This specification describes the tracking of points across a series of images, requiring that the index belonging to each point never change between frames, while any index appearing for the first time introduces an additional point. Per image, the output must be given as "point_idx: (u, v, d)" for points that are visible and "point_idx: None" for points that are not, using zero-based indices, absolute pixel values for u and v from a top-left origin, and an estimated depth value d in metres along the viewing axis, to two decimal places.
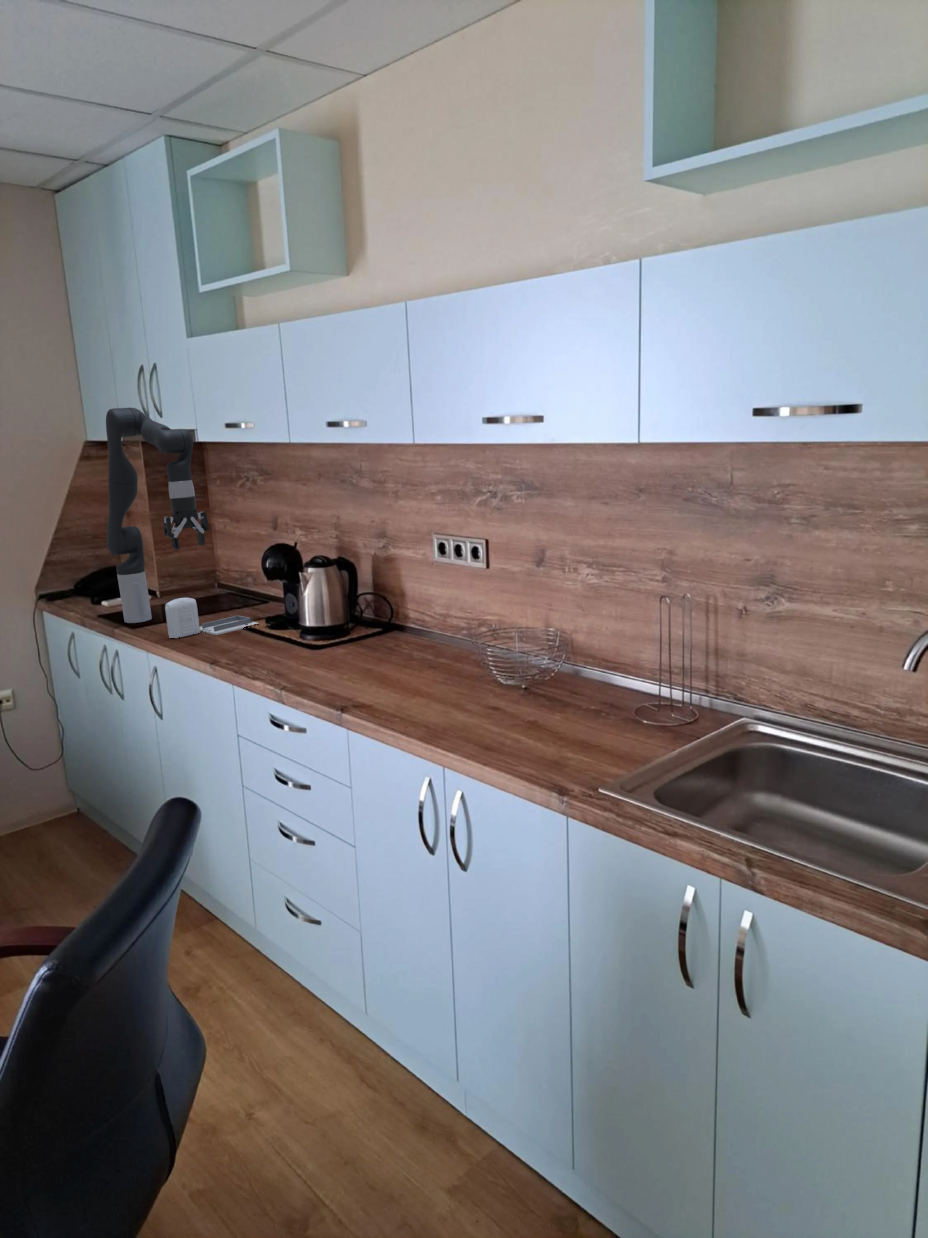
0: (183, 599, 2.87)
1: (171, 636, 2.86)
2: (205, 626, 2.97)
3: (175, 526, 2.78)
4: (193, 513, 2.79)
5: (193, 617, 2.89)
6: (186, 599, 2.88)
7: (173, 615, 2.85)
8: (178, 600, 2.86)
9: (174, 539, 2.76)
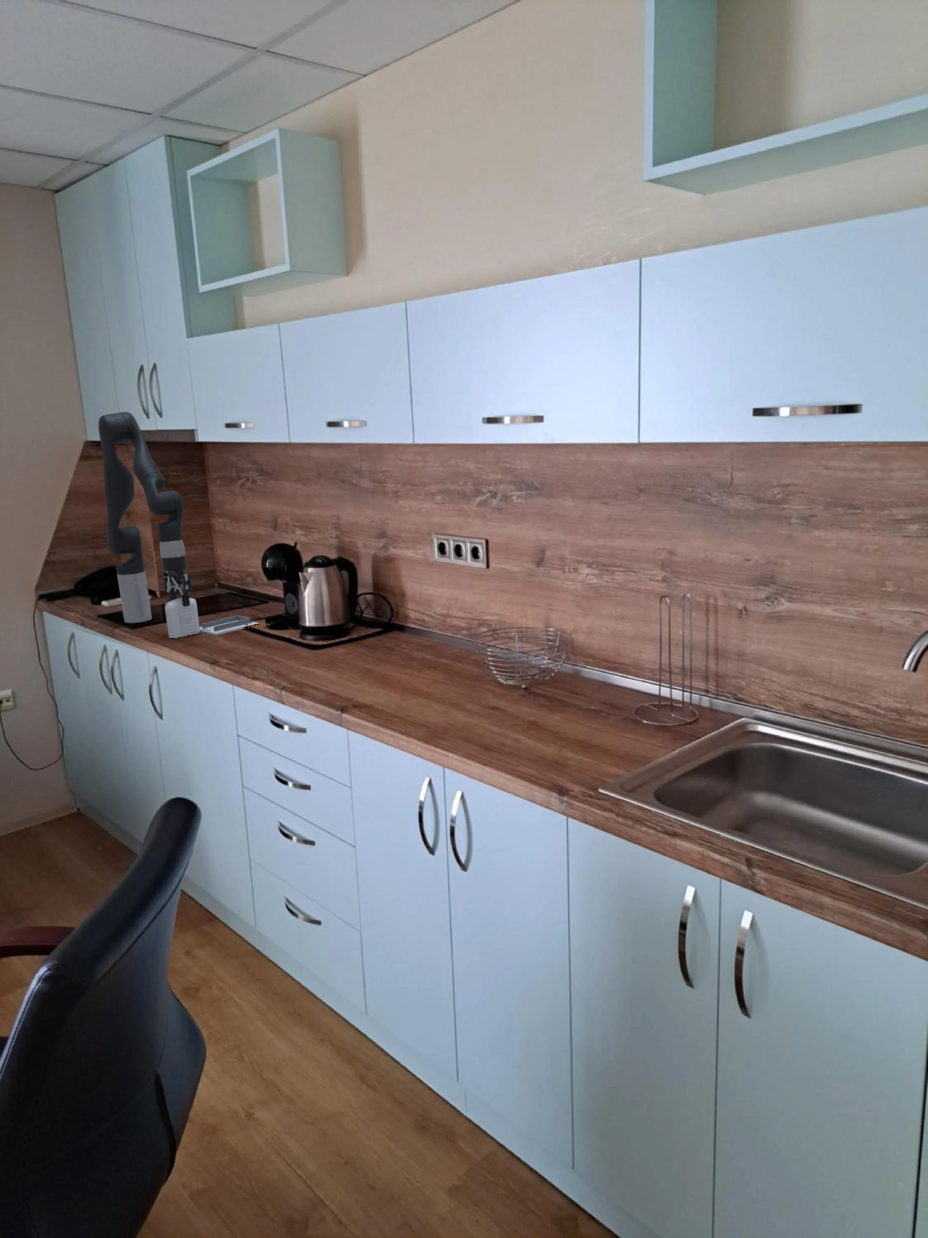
0: None
1: (171, 636, 2.86)
2: (205, 626, 2.97)
3: None
4: None
5: (193, 617, 2.89)
6: None
7: (173, 615, 2.85)
8: (178, 600, 2.86)
9: None
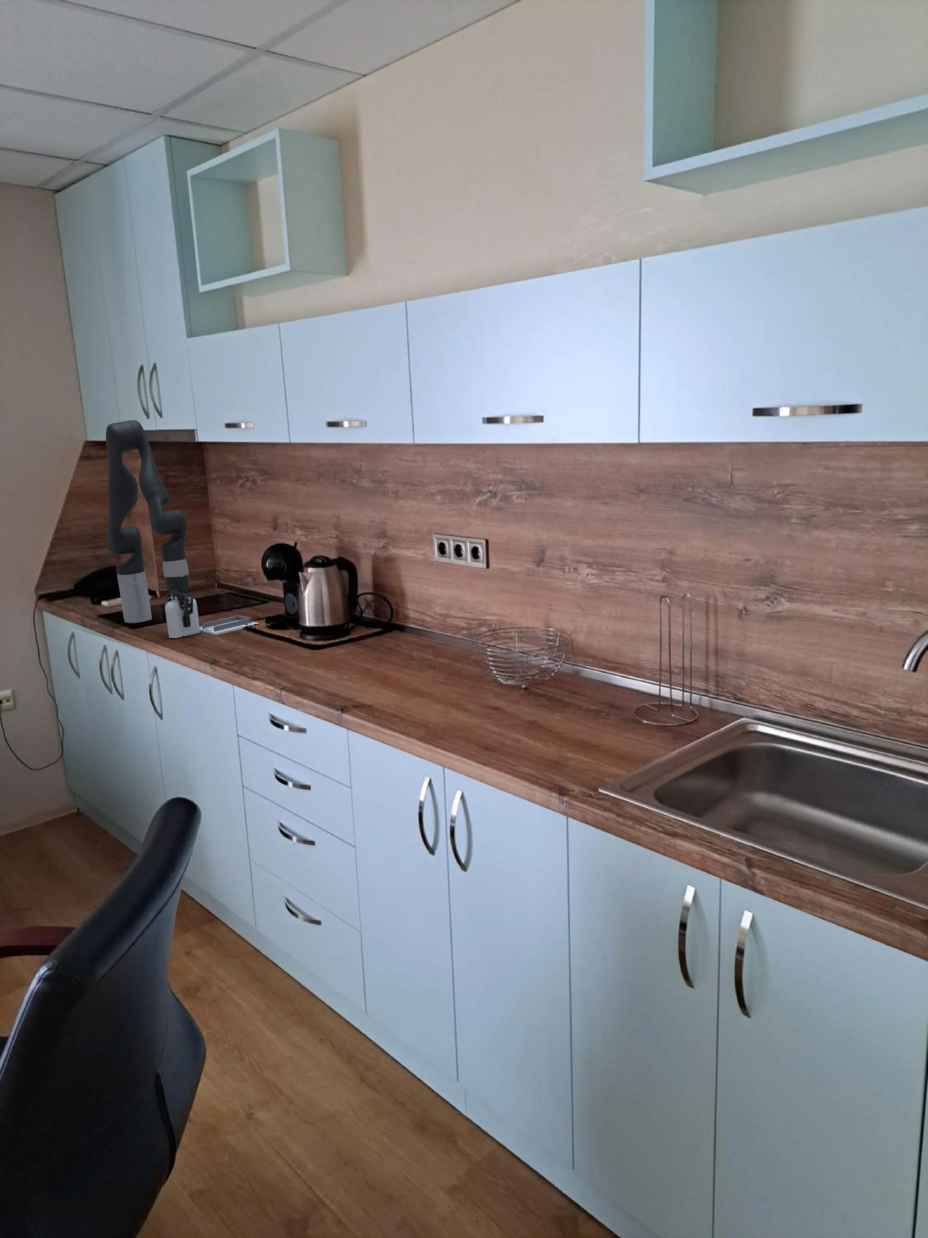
0: None
1: (171, 636, 2.86)
2: (205, 626, 2.97)
3: None
4: None
5: (193, 617, 2.89)
6: None
7: (173, 614, 2.85)
8: None
9: None
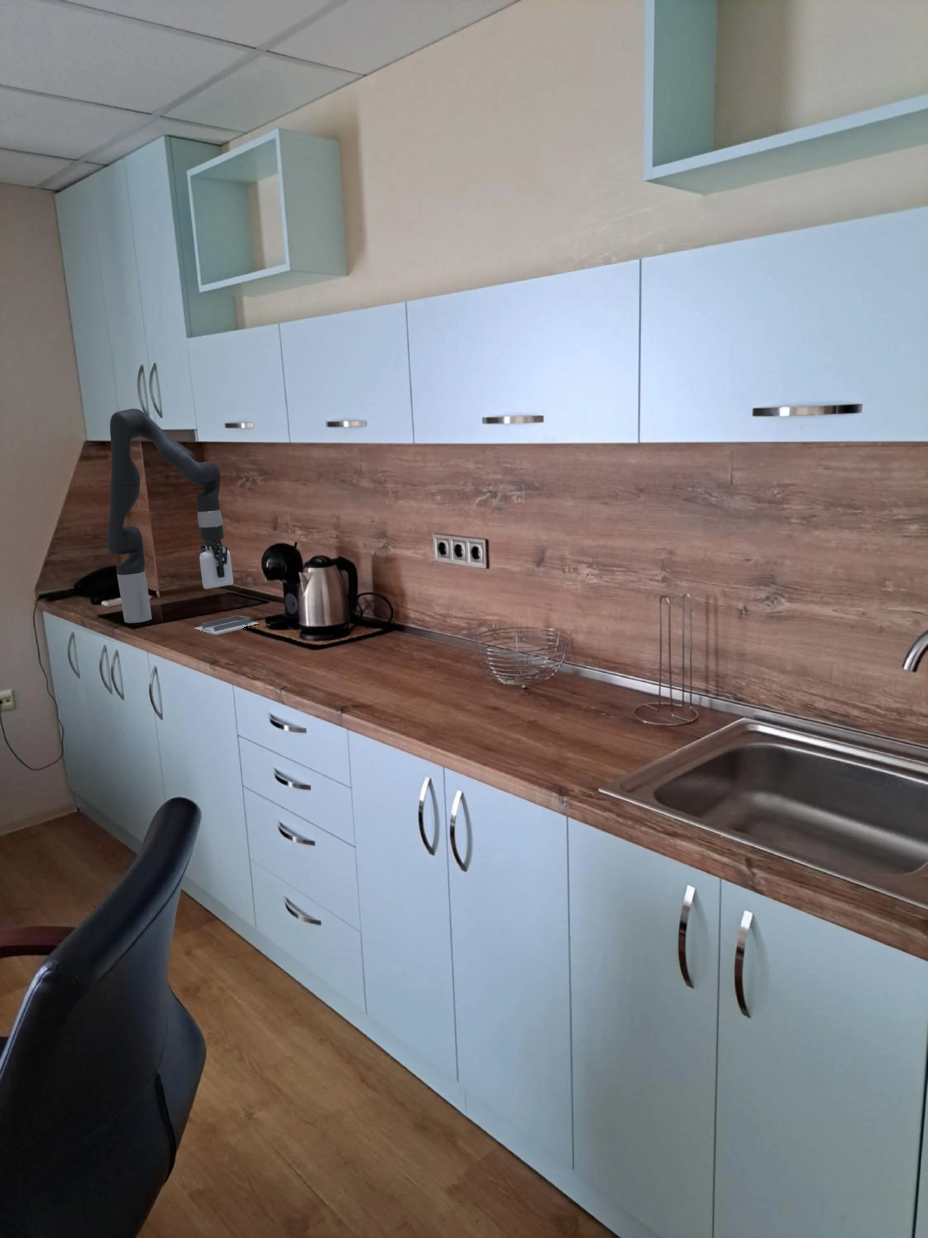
0: None
1: (206, 586, 2.90)
2: (205, 626, 2.97)
3: None
4: None
5: (227, 568, 2.93)
6: None
7: (207, 565, 2.89)
8: None
9: None
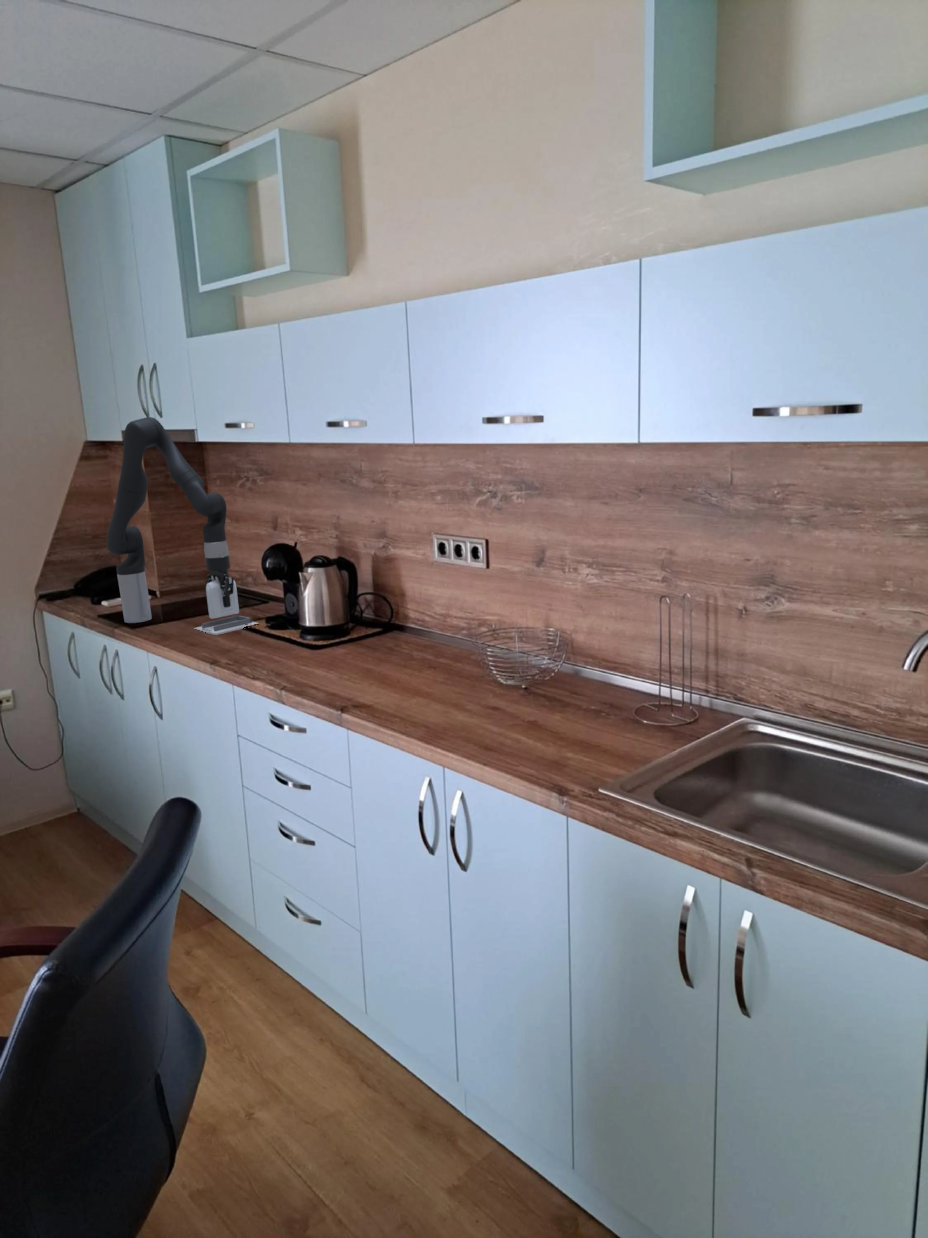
0: None
1: (212, 615, 2.93)
2: (205, 626, 2.97)
3: None
4: None
5: (233, 597, 2.96)
6: None
7: (214, 595, 2.92)
8: None
9: None
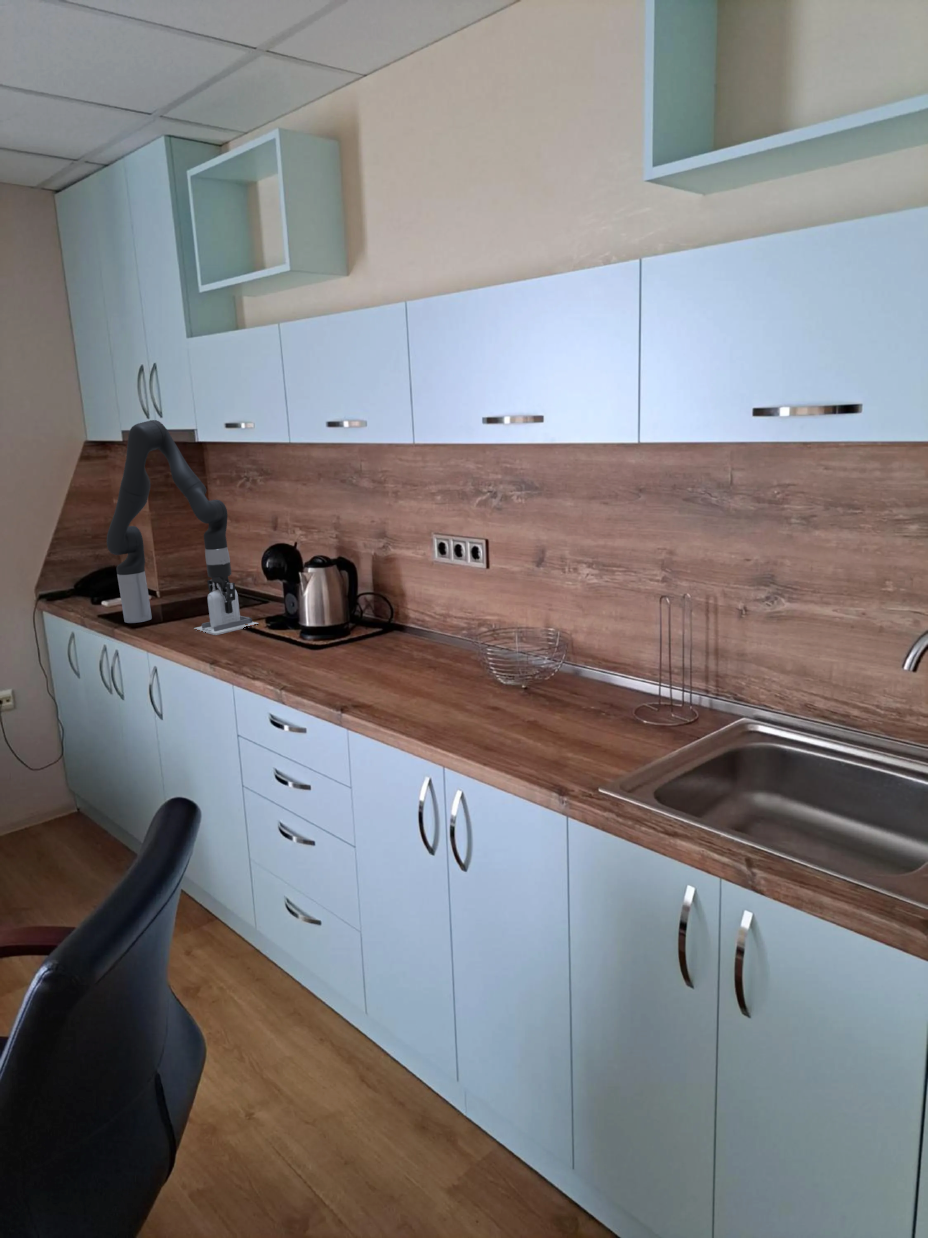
0: None
1: (214, 625, 2.94)
2: (205, 626, 2.97)
3: None
4: None
5: (234, 607, 2.97)
6: None
7: (215, 605, 2.92)
8: None
9: None
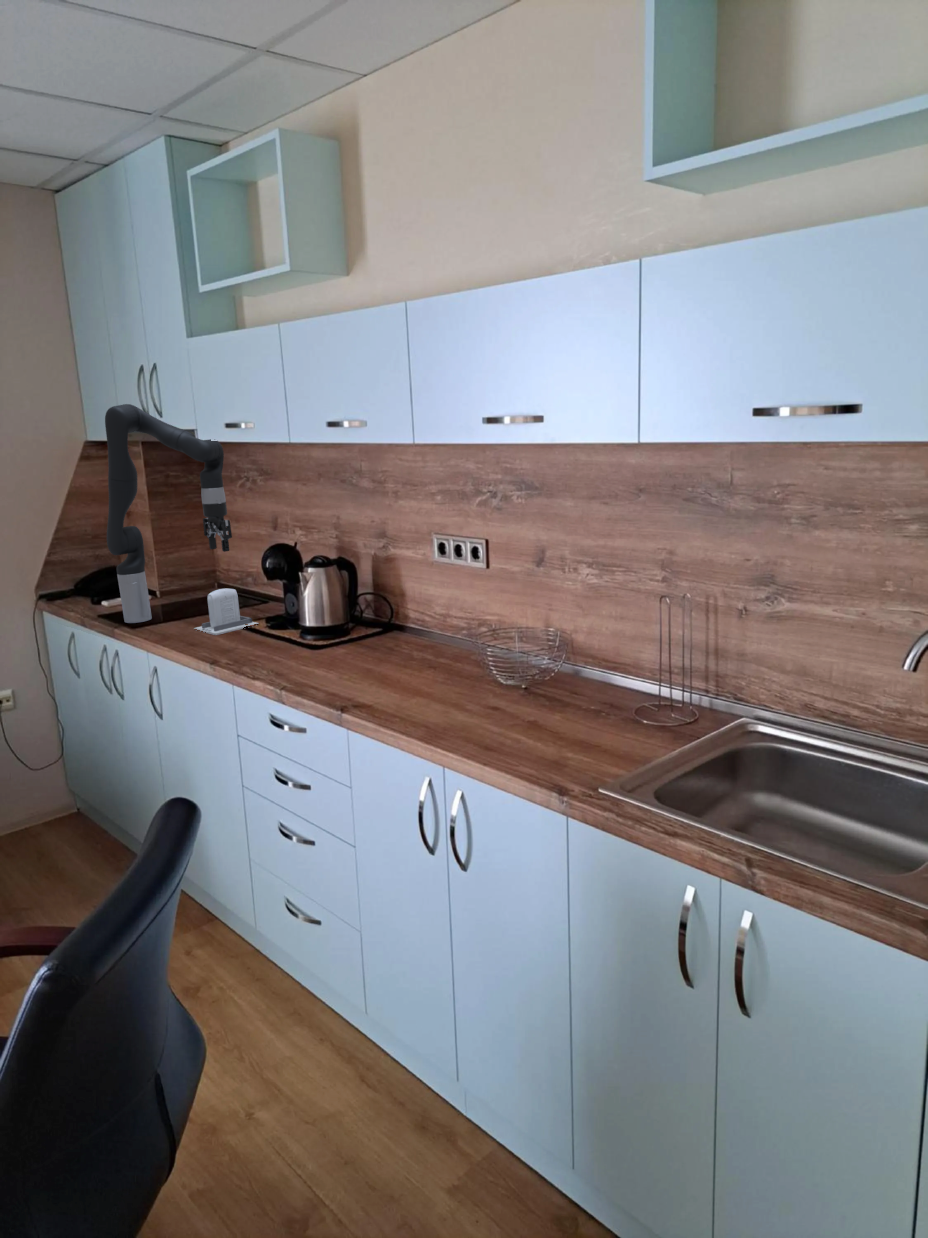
0: (225, 590, 2.95)
1: (214, 625, 2.94)
2: (205, 626, 2.97)
3: None
4: None
5: (234, 607, 2.97)
6: (227, 590, 2.96)
7: (215, 605, 2.92)
8: (220, 591, 2.94)
9: None
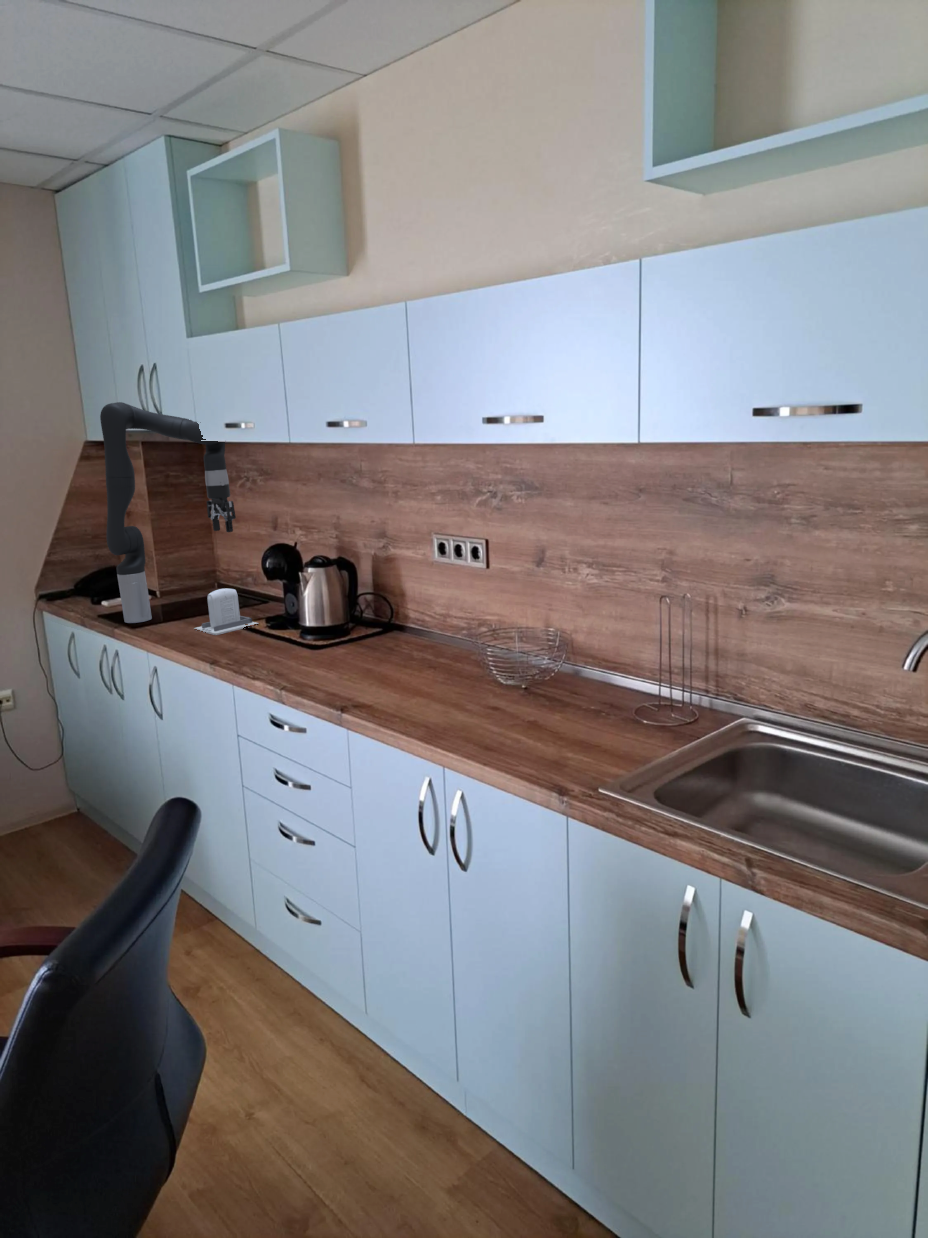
0: (225, 590, 2.95)
1: (214, 625, 2.94)
2: (205, 626, 2.97)
3: None
4: None
5: (234, 607, 2.97)
6: (227, 590, 2.96)
7: (215, 605, 2.92)
8: (220, 591, 2.94)
9: None
